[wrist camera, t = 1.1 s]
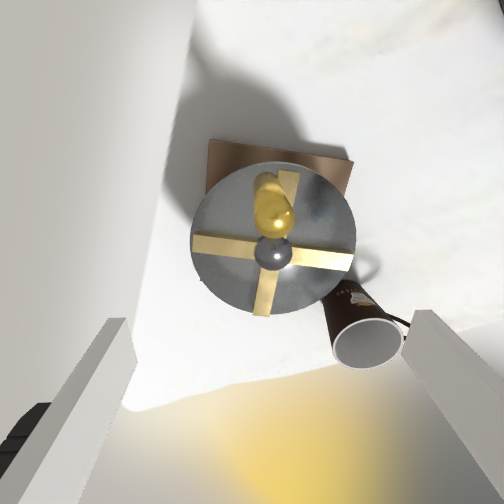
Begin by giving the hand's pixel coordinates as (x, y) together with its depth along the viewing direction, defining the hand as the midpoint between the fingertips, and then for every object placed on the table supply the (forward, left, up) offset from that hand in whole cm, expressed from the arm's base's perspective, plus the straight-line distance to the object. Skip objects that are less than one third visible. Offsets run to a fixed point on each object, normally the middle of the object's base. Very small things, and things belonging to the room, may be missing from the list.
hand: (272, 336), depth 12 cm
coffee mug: (-17, +14, -25) cm, 33 cm away
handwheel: (-2, +3, -18) cm, 19 cm away
